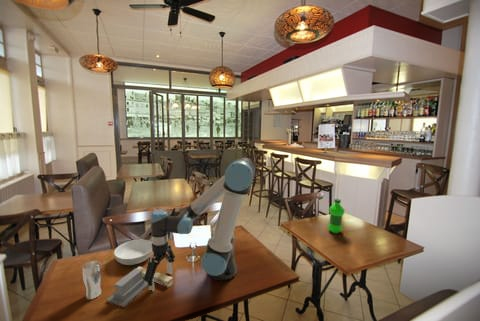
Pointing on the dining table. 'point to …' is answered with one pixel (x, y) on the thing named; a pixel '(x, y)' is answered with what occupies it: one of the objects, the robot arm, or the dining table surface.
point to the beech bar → (159, 277)
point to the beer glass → (92, 279)
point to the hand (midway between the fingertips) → (161, 281)
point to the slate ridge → (128, 288)
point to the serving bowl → (133, 252)
